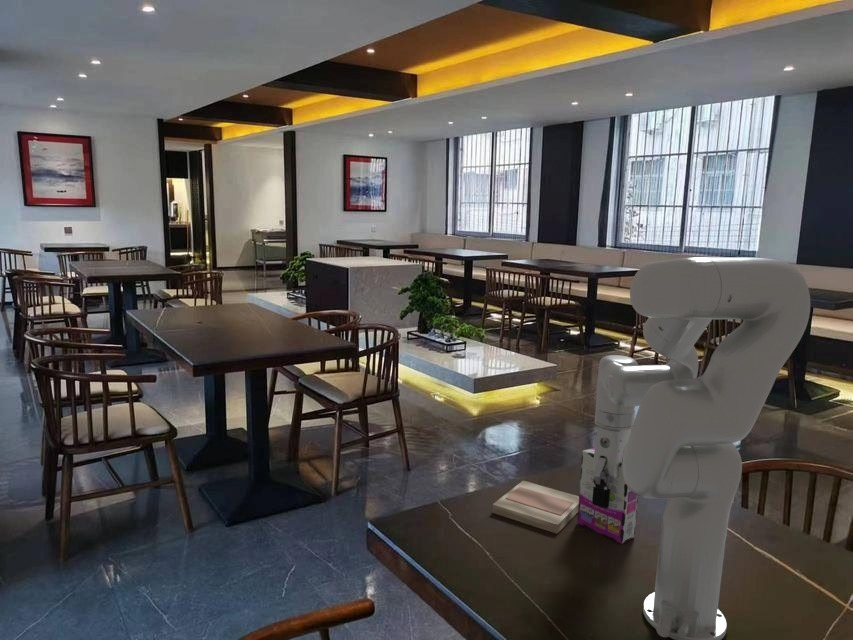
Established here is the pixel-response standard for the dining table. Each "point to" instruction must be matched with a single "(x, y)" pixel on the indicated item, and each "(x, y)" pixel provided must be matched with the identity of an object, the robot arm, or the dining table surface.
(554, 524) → the base board
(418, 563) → the dining table surface
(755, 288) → the robot arm
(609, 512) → the candy bar box
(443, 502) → the dining table surface
